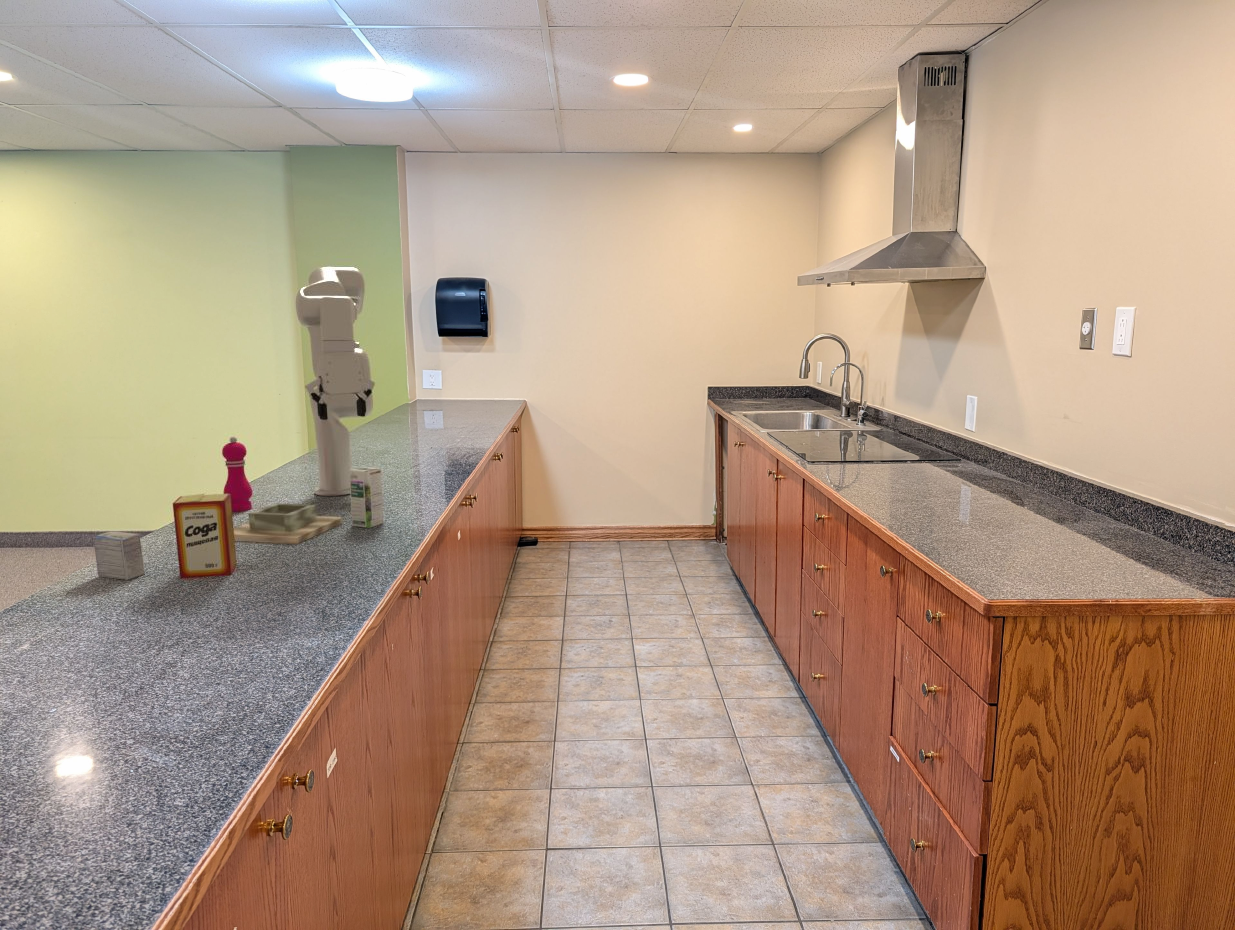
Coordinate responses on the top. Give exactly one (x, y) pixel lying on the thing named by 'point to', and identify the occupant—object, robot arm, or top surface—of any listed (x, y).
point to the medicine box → (119, 555)
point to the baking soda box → (204, 535)
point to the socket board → (285, 524)
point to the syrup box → (366, 496)
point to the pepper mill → (237, 476)
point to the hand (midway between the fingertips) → (342, 417)
